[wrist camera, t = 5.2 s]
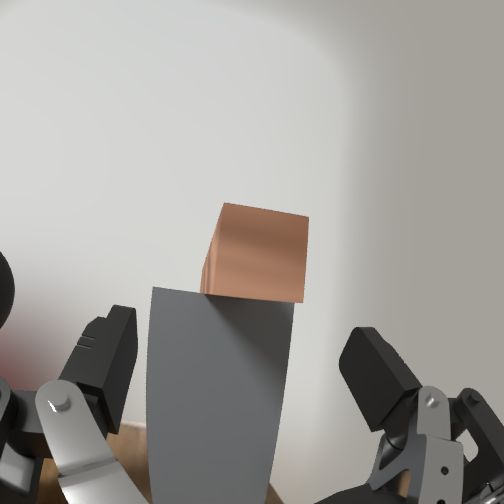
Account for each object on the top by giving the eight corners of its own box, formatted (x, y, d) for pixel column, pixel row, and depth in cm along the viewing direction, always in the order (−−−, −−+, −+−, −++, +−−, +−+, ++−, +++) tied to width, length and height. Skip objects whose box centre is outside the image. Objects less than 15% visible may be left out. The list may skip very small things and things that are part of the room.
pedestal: (251, 559, 14) (294, 302, 19) (162, 557, 12) (152, 286, 17) (239, 521, 22) (266, 300, 27) (164, 518, 20) (165, 288, 25)
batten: (303, 303, 9) (308, 216, 9) (212, 294, 8) (224, 202, 9) (223, 295, 34) (225, 272, 35) (199, 292, 33) (202, 269, 34)
